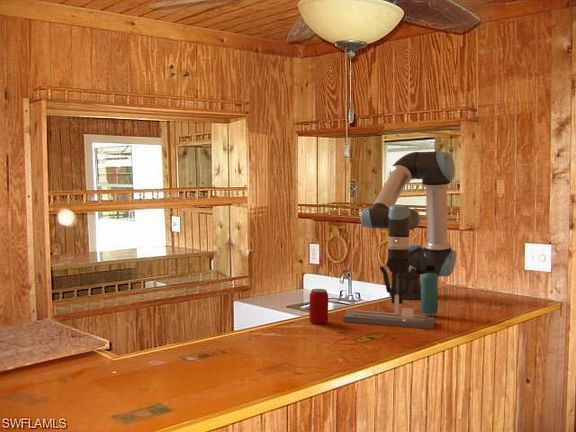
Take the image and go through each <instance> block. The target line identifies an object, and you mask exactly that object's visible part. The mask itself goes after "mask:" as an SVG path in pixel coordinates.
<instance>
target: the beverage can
mask: <svg viewBox="0 0 576 432" xmlns="http://www.w3.org/2000/svg"><path fill="white" fill-rule="evenodd" d="M308 308H309V310H308V311H309V313H308V315H309V316H308V317H309V318H308V319H309V322H310V323H311V324H313V323H314V325H325V324H326V323H328V321H329V319H328V318H329V294H328V291H327V289H325V288H312V289H311V291H310V293H309V305H308Z"/></svg>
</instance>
